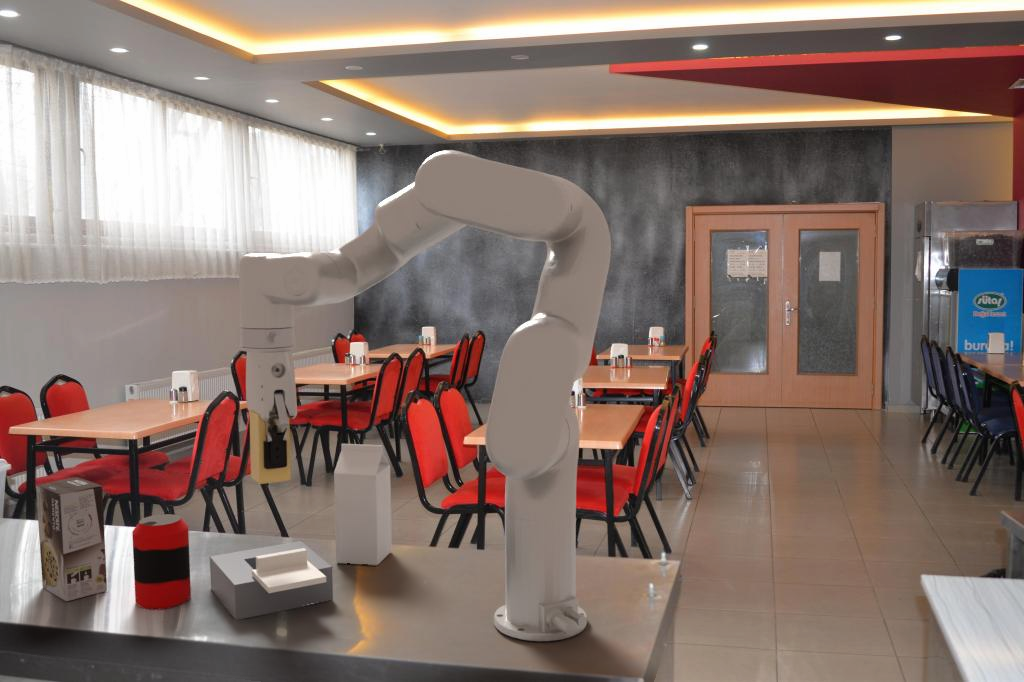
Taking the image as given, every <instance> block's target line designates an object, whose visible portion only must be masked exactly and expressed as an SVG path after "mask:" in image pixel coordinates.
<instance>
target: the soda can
mask: <svg viewBox="0 0 1024 682" xmlns="http://www.w3.org/2000/svg"><path fill="white" fill-rule="evenodd" d="M131 533H132V534H131V535H132V553H133V555H132V556H133V557H132V558H133V573H134V574H133V577H134V597H135V598H134V599H135V603H136V605H137V606H139V607H140V608H142V609H144V610H164V609H171V608H175V607H179V606H181V605H182V604H184V603H185V602H187V601H189V599H190V597H191V595H192V593H191V592H192V587H191V564H190V563H191V562H190V541H189V538H190V535H189V525H188V524H187V523H186V521H184V519H182V517H181V516H180V515H178V514H171V513H169V514H166V513H165V514H154V515H150V516H146V517H144V518H141V519H140V520H139V521H138V523H137V524H136V526H135V528H134V529H132V532H131Z"/></svg>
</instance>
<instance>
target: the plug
mask: <svg viewBox="0 0 1024 682" xmlns="http://www.w3.org/2000/svg"><path fill="white" fill-rule="evenodd" d="M248 412H249V448H250V449H249V451H250V453H249V454H250V478H251V479H253V480H254V481H255V482H256V483H258V484H259V485H264V484H265V485H266V484H272V483H280V482H281V483H282V482H287V481H291V435H290V434H291V433H290V432H291V431H290V429H291V428H290V425H291V424H290V418H289V415H287V417H288V426H287V430H286V431H287V466H286V467H284V468H275V469H266V468H264V442H263V441H266V435H265V423H264V420H262V419H261V418H260V415H259V414H257V413H255V412H253V411H251V410H249V411H248ZM286 412H287V411H286ZM287 413H289V412H287ZM269 416H271V417H270V418H269V419H276V415H269ZM273 425H276V423H273V424H271V430H272V427H273Z"/></svg>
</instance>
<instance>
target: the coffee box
mask: <svg viewBox="0 0 1024 682" xmlns="http://www.w3.org/2000/svg"><path fill="white" fill-rule="evenodd" d="M35 487H36V488H35V490H36V504H37V521H38V524H37V525H38V537H39V538H38V539H39V550H40V551H39V552H40V566H41V567H40V568H41V579H42V580H41V582H42V588H43V589H44V590H46V591H48V592H50V593H51V594H53V595H54V596H57V597H58V598H59V599H60V600H63V601H65V602H70V601H73V600H78V599H82V598H85V597H88V596H93V595H97V594H101V593H105V592H107V590H108V584H107V582H108V580H107V559H106V556H107V555H106V542H105V540H106V539H105V536H106V535H105V517H104V497H103V494H104V493H103V488H104V487H103V485H101V484H98V483H96V482H93V481H89V480H87V479H84V478H81V477H79V476H75V477H74V476H73V477H68V478H64V479H58V480H54V481H50V482H46V483H40V484H36V485H35Z"/></svg>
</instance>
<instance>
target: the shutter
mask: <svg viewBox="0 0 1024 682" xmlns="http://www.w3.org/2000/svg"><path fill="white" fill-rule="evenodd" d="M252 576H253V577H254V578H255V579H256V580H257V581H258V582H259V583H260V585H261V586H262V587H263V588H264V589H265V590H266V591H267V592H268V593H273V592H278V591H284V590H289V589H294V588H299V587H304V586H309V585H314V584H319V583H324V582H326V576H325V575H324V574H323V573H321V572H320V571H319V570H318V569H317V568H316V567H314V566H313V565H312V564H311V563H310V562H309V561H307V550H306V549H305V548H301V549H295V550H290V551H284V552H278V553H272V554H267V555H261V556H256V569H255V570H252Z"/></svg>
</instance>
